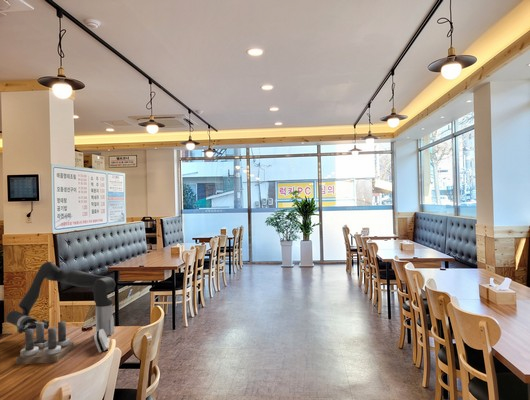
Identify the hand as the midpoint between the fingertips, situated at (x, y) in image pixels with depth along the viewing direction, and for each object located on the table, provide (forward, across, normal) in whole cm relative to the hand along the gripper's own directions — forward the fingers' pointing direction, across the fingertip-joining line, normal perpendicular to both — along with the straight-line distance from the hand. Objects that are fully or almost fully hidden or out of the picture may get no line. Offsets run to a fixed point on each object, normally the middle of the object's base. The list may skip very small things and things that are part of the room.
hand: (38, 329), depth 201 cm
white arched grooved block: (+22, +24, +12) cm, 34 cm away
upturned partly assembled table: (+10, 0, +12) cm, 15 cm away
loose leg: (+3, 0, +8) cm, 9 cm away
